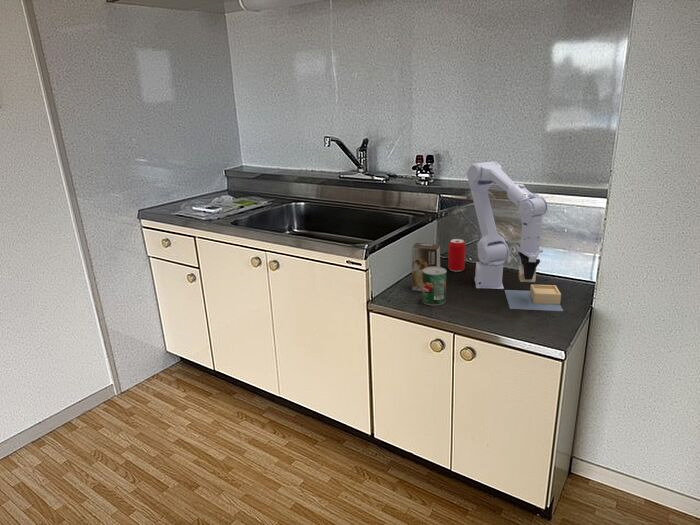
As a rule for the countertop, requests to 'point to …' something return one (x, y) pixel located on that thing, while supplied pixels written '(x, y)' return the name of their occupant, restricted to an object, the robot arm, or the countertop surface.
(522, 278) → the cream block
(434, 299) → the canned tomato
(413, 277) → the coffee box
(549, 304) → the board
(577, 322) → the countertop surface
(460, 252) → the beverage can
